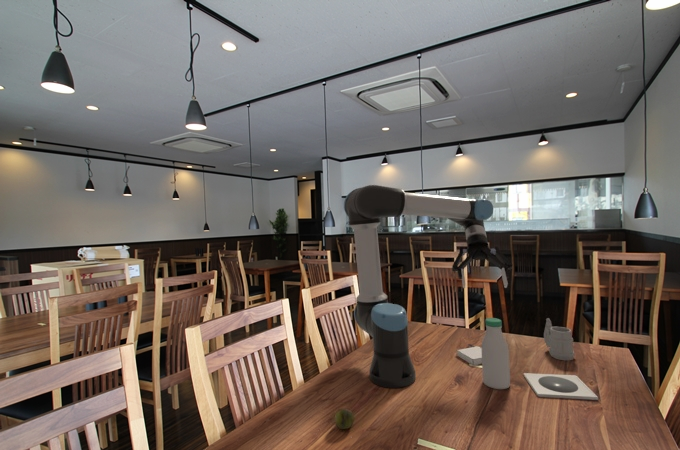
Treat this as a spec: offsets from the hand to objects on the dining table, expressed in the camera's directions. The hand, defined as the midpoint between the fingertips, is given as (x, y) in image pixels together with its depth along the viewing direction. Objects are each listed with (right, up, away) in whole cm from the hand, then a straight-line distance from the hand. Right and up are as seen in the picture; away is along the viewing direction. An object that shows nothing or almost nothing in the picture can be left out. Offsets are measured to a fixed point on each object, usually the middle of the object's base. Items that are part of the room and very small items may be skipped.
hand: (484, 285), depth 117 cm
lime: (-49, -31, -31) cm, 66 cm away
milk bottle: (-2, -28, -13) cm, 31 cm away
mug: (+29, -26, +6) cm, 39 cm away
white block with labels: (0, -28, +7) cm, 29 cm away
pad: (+15, -27, -17) cm, 35 cm away
